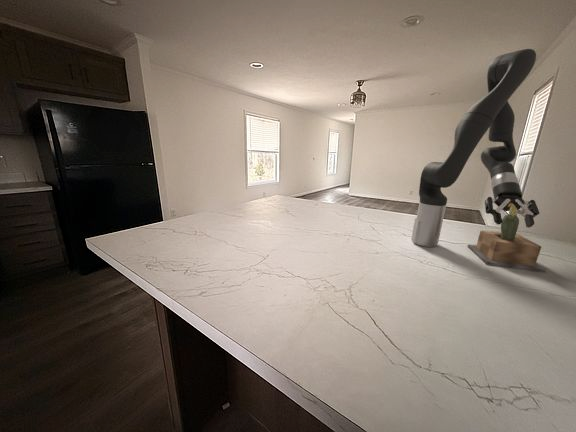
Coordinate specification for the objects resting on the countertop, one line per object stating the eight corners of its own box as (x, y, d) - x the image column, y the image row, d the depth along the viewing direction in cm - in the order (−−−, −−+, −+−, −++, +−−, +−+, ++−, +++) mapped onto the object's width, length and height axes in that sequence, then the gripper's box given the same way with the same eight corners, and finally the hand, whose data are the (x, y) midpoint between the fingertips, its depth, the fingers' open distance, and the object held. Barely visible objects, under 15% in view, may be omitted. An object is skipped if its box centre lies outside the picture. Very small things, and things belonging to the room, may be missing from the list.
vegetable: (513, 258, 81) (527, 206, 73) (498, 258, 82) (511, 207, 75) (505, 251, 85) (517, 201, 77) (491, 252, 86) (502, 202, 78)
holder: (486, 264, 79) (492, 242, 76) (467, 246, 93) (472, 228, 91) (545, 272, 74) (554, 250, 72) (516, 252, 89) (522, 233, 86)
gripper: (488, 179, 85) (495, 217, 78) (536, 182, 81) (549, 222, 74) (478, 191, 91) (484, 227, 84) (522, 194, 87) (533, 232, 80)
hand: (514, 224), depth 79 cm, fingers open, 8 cm apart
